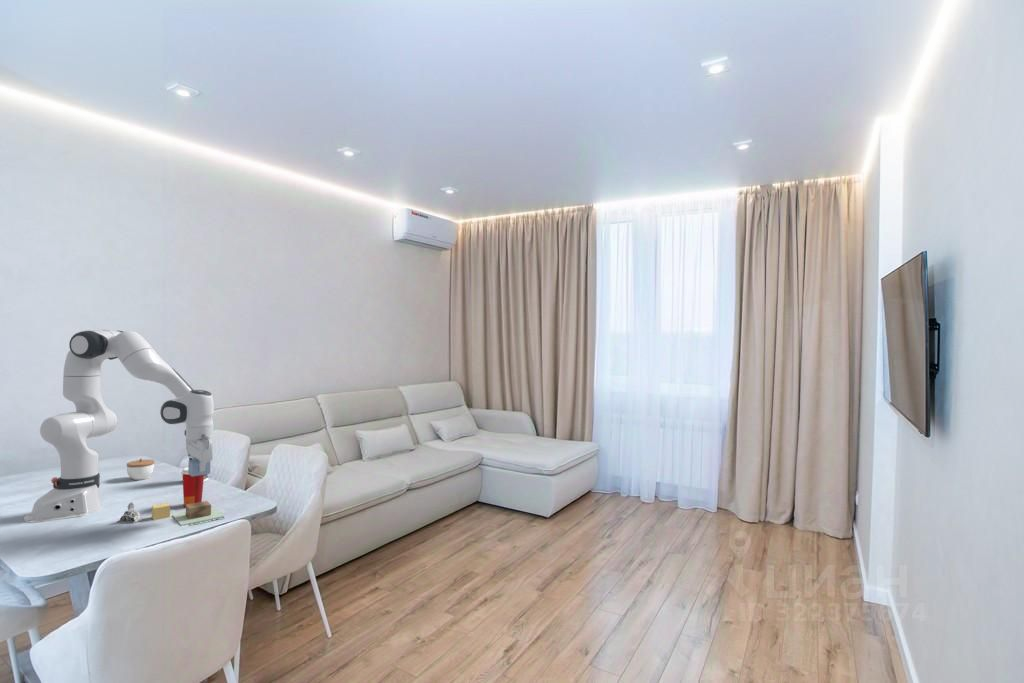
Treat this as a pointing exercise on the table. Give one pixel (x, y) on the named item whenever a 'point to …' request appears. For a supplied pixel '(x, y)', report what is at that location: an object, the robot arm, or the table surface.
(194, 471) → the slate brick
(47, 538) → the table surface
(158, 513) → the ochre brick
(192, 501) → the coffee cup
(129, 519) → the grey lumpy mound
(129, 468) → the lidded jar
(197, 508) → the base brick
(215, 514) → the sage board
